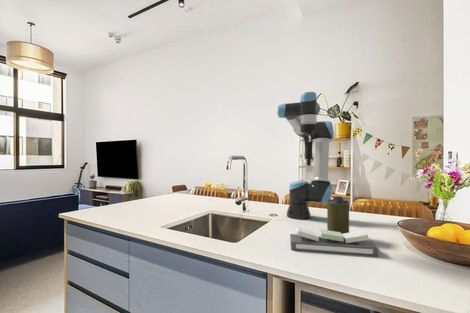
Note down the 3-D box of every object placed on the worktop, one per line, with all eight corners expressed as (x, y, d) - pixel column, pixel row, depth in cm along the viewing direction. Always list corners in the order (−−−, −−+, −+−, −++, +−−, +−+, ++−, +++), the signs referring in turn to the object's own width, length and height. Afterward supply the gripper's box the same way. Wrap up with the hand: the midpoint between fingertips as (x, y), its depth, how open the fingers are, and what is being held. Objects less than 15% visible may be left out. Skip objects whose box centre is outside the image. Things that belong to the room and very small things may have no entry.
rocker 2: (342, 238, 104) (341, 233, 104) (364, 234, 102) (362, 230, 102) (346, 243, 98) (345, 238, 98) (369, 239, 96) (367, 234, 96)
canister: (336, 240, 111) (336, 198, 111) (322, 233, 121) (322, 195, 121) (355, 238, 114) (355, 197, 114) (340, 231, 124) (340, 194, 124)
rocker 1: (296, 230, 108) (297, 226, 108) (316, 236, 106) (317, 232, 106) (297, 235, 102) (298, 230, 102) (318, 241, 100) (319, 236, 100)
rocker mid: (318, 233, 106) (319, 228, 106) (339, 236, 104) (340, 232, 104) (321, 237, 100) (321, 233, 100) (343, 241, 98) (343, 237, 98)
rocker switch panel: (290, 241, 110) (290, 231, 110) (368, 246, 103) (368, 236, 103) (291, 250, 100) (291, 239, 100) (378, 256, 93) (378, 245, 93)
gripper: (299, 126, 122) (299, 171, 122) (301, 122, 109) (301, 173, 109) (314, 125, 121) (314, 171, 121) (318, 122, 108) (318, 173, 108)
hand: (308, 172), depth 115 cm, fingers closed
